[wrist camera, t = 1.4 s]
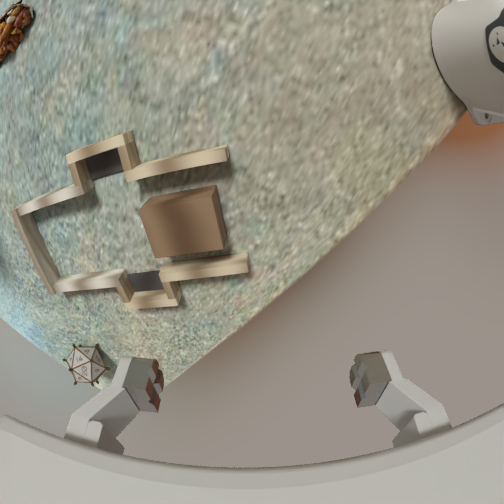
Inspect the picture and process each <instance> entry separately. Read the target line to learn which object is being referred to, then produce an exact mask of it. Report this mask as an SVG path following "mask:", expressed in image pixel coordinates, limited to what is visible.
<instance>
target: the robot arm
mask: <svg viewBox="0 0 504 504" xmlns="http://www.w3.org/2000/svg"><path fill="white" fill-rule="evenodd" d="M431 38H432V47H433V52H434V55H435V59H436V62H437V64H438V67H439V69H440V71H441V74H442V75H443V77H444V79H445V81H446V82H447V84H448V85H449V87H450V88H451V89H452V91H453V92H454V93H455V94H456V95H457V96H458V97H459V98H460V99H461V100H462V101H463V103H464V104H465V105H466V107H467V109H468V111H469V114H470V115H471V118H472V119H473V121H474V123H475V124H477V125H488V124H494V123H501V122H504V0H452V2H451V3H450V4H449V5H447V6H445V7H444V8H442V9H441V10H440V11H439V12H438V13H437V14H436V16H435V18H434V20H433V24H432V31H431ZM354 361H355V364H354V365H353V366H352V367H351V370H350V383H351V386H352V387H353V388H354V389H355V390H356V392H355V394H354V397H355V401H356V404H357V407H365V406H371V405H375V406H376V407H377V408H378V409H379V410H380V411H381V412H382V413H383V414H384V415H385V416H386V417H387V418H388V419H389V420H390V421H391V422H392V423H393V424H394V425H395V426H396V427H397V428H398V429H399V430H400V432H399V433H398V435H397V436H396V437H395V438H394V439H393V441H392V442H393V445H394V448H390V449H387V450H383V451H379V452H375V453H370V454H366V455H361V456H357V457H351V458H346V459H340V460H334V461H328V462H321V463H313V464H304V465H295V466H281V467H258V468H228V467H207V466H192V465H183V464H174V463H166V462H159V461H153V460H147V459H141V458H136V457H131V456H126V455H123V452H124V447H123V445H122V444H121V443H120V442H119V441H118V440H117V439H116V437H117V436H118V435H119V434H120V433H121V432H122V431H123V430H124V428H125V427H126V426H127V425H128V424H129V423H130V422H131V421H132V420H133V419H134V418H135V416H136V415H137V414H138V413H139V412H140V411H147V412H157V413H158V410H159V405H160V401H161V400H160V398H159V394H160V393H161V392H162V391H163V386H164V378H163V373H162V371H161V370H160V369H158V367H159V363H158V361H157V360H156V359H146V358H137V357H129V356H123V357H122V358H121V359H120V361H119V364H118V367H117V369H116V372H115V375H114V378H113V381H112V383H111V386H106V387H105V388H104V389H103V390H102V391H100V392H99V393H98V394H97V395H95V396H94V397H93V398H92V399H90V400H89V401H88V402H87V403H85V404H84V405H83V406H82V407H80V408H79V409H78V410H77V411H75V412H74V413H73V414H72V416H71V419H70V422H69V425H68V427H67V430H66V433H65V436H64V438H62V437H59V436H56V435H54V434H51V433H48V432H46V431H43V430H41V429H38V428H36V427H33V426H31V425H29V424H26V423H24V422H22V421H20V420H18V419H16V418H14V417H11V416H9V415H4V416H1V417H0V504H504V404H501V405H499V406H498V407H496V408H494V409H492V410H490V411H488V412H486V413H484V414H482V415H480V416H478V417H476V418H473V419H471V420H469V421H467V422H465V423H462V424H460V425H458V426H455V427H453V428H452V426H451V424H450V421H449V419H448V416H447V414H446V412H445V409H444V407H443V405H442V404H441V403H439V402H438V401H437V400H435V399H434V398H432V397H431V396H430V395H428V394H427V393H426V392H424V391H423V390H422V389H420V388H419V387H418V386H416V385H415V384H413V383H412V382H411V381H409V380H408V379H407V378H405V379H403V377H402V374H401V372H400V370H399V367H398V365H397V363H396V361H395V358H394V356H393V354H392V352H391V351H390V350H385V351H379V352H378V351H377V352H370V353H364V354H357V355H356V356H355V359H354Z"/></svg>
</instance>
